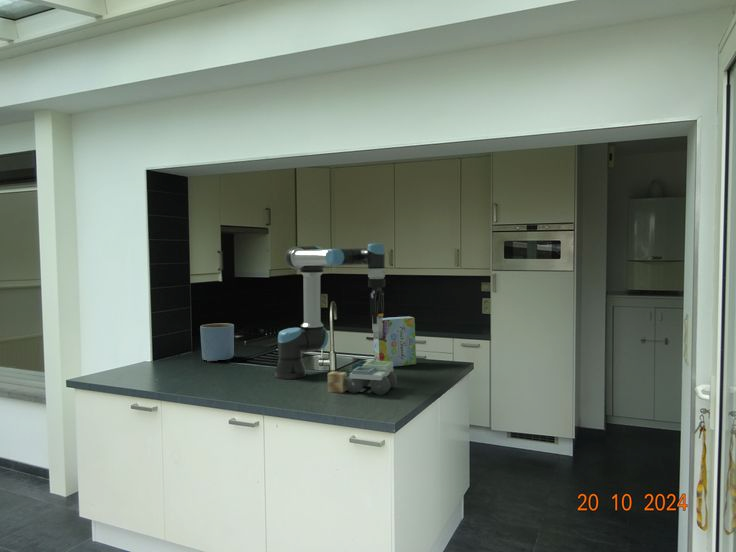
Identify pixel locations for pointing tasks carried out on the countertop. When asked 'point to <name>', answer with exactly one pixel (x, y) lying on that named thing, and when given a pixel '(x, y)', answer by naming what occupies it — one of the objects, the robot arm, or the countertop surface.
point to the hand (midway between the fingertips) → (377, 330)
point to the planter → (217, 341)
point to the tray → (379, 365)
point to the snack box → (396, 341)
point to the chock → (336, 382)
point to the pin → (379, 333)
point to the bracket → (353, 368)
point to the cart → (364, 376)
